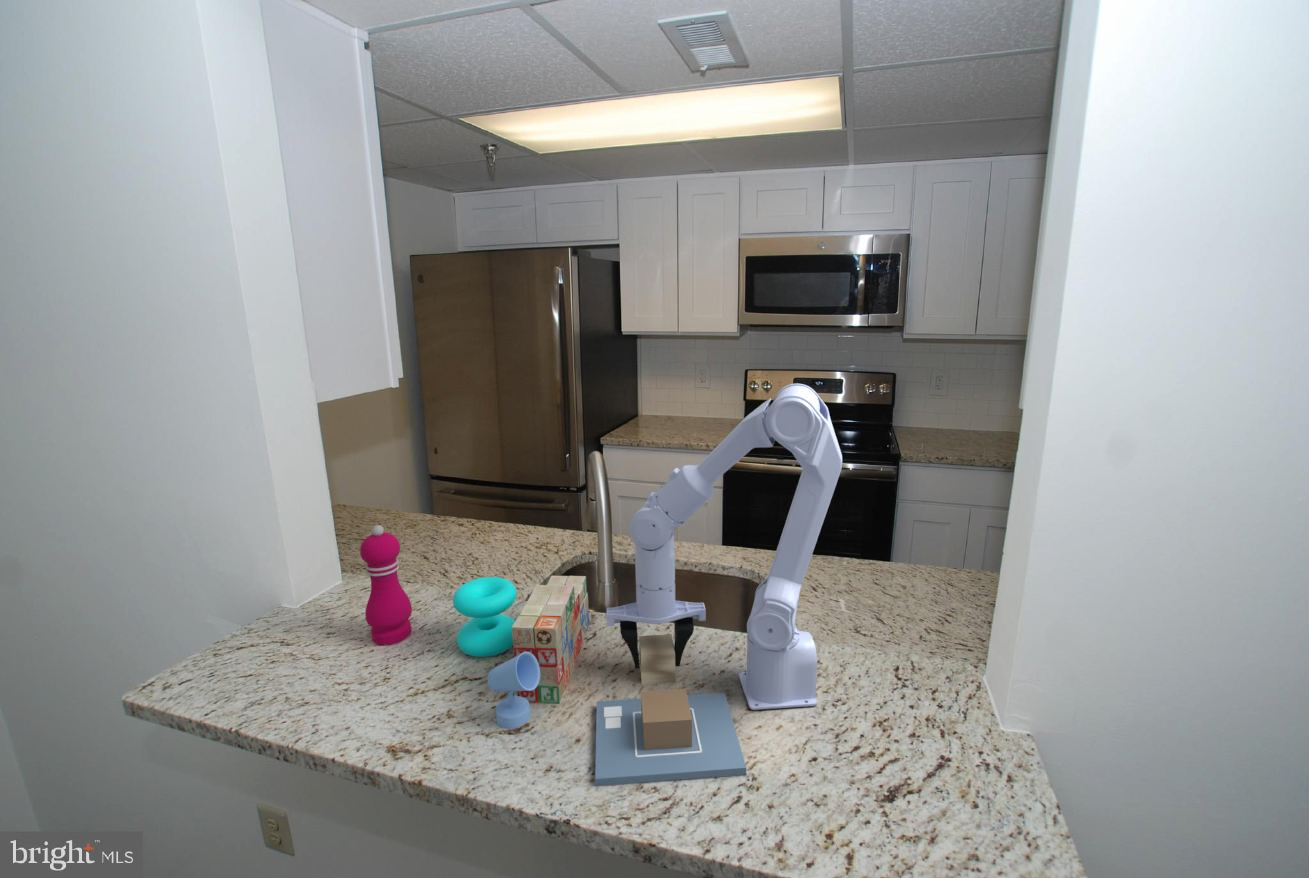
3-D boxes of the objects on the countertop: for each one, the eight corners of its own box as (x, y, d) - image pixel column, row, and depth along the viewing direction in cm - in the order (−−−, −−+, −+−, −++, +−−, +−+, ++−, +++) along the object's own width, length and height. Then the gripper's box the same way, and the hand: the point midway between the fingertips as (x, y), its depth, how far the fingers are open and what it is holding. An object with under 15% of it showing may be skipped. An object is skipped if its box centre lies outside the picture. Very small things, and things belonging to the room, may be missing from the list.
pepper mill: (404, 647, 102) (389, 534, 97) (361, 647, 102) (343, 534, 97) (421, 623, 109) (408, 516, 104) (380, 624, 109) (365, 517, 104)
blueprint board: (724, 698, 88) (724, 667, 87) (746, 774, 75) (746, 739, 73) (597, 707, 87) (595, 675, 86) (595, 785, 73) (593, 750, 72)
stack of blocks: (554, 623, 109) (550, 558, 106) (589, 624, 108) (586, 559, 105) (517, 703, 88) (510, 625, 85) (560, 705, 88) (555, 627, 84)
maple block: (671, 662, 97) (671, 634, 96) (675, 682, 92) (675, 652, 91) (639, 664, 96) (639, 635, 95) (641, 684, 92) (640, 654, 90)
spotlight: (547, 710, 86) (503, 701, 88) (542, 646, 84) (497, 639, 86) (530, 734, 82) (484, 724, 84) (525, 668, 79) (477, 659, 81)
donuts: (454, 577, 104) (515, 570, 106) (460, 631, 107) (519, 623, 109) (449, 607, 95) (516, 598, 97) (455, 664, 97) (521, 655, 99)
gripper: (700, 566, 95) (700, 645, 98) (605, 571, 94) (608, 651, 97) (708, 588, 88) (707, 672, 91) (605, 594, 87) (609, 678, 90)
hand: (657, 663), depth 94 cm, fingers open, 5 cm apart
